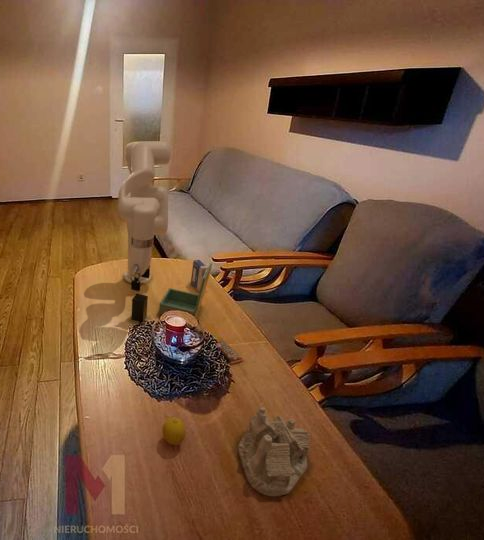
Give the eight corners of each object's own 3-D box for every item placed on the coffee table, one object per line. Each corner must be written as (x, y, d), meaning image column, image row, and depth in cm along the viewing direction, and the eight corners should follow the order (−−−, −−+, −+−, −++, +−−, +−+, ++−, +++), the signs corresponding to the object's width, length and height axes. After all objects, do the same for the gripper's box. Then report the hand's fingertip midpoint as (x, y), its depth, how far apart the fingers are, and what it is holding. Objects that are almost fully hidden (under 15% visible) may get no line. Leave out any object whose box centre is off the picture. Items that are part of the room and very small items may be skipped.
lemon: (159, 433, 90) (161, 411, 86) (180, 431, 91) (183, 410, 87) (164, 452, 85) (167, 431, 82) (186, 450, 86) (190, 429, 82)
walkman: (190, 283, 156) (193, 259, 151) (196, 282, 157) (199, 258, 151) (198, 292, 150) (201, 267, 144) (204, 291, 150) (208, 267, 144)
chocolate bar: (210, 343, 120) (210, 342, 120) (222, 340, 122) (222, 338, 121) (231, 364, 111) (231, 363, 111) (243, 361, 112) (244, 359, 112)
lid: (202, 277, 120) (205, 278, 119) (209, 262, 129) (212, 263, 129) (194, 310, 127) (196, 311, 126) (201, 294, 137) (204, 294, 136)
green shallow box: (158, 316, 135) (159, 303, 132) (168, 299, 145) (169, 288, 142) (193, 325, 130) (195, 312, 127) (201, 307, 139) (202, 295, 137)
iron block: (135, 314, 136) (136, 293, 131) (146, 317, 134) (147, 295, 130) (131, 321, 133) (132, 299, 128) (142, 324, 131) (143, 301, 126)
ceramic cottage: (244, 490, 77) (262, 445, 70) (233, 428, 91) (247, 386, 84) (320, 508, 74) (347, 463, 67) (297, 441, 89) (317, 399, 82)
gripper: (140, 230, 126) (139, 270, 135) (122, 249, 113) (121, 293, 122) (160, 233, 123) (157, 274, 132) (144, 253, 110) (141, 298, 119)
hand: (140, 283), depth 127 cm, fingers open, 9 cm apart
